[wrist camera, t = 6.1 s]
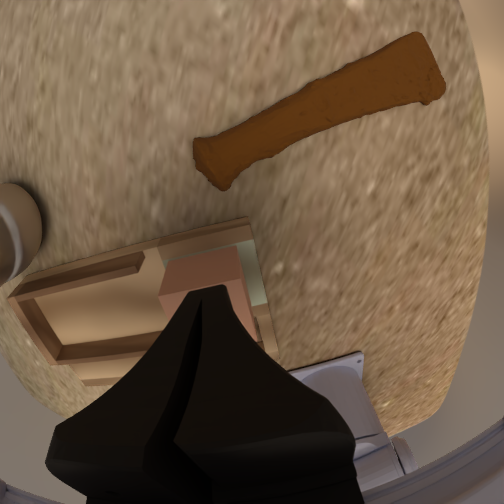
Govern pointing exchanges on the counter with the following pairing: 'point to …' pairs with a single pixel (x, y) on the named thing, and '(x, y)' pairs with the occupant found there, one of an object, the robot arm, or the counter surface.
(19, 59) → the counter surface
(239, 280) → the block
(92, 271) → the board
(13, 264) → the plastic bottle
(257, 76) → the counter surface
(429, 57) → the primitive tool
